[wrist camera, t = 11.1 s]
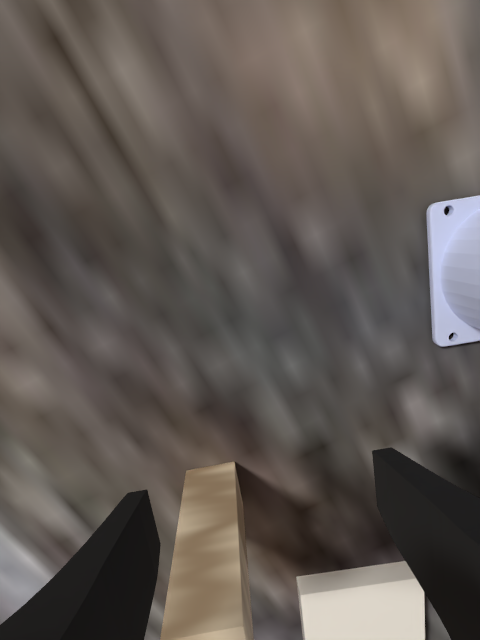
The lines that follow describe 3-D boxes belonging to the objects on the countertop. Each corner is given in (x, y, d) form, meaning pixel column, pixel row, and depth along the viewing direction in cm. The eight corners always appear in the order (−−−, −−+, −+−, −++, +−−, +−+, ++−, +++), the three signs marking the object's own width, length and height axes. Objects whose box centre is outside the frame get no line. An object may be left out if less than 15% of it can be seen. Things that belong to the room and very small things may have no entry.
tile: (423, 577, 24) (425, 671, 26) (410, 553, 26) (412, 644, 28) (300, 595, 24) (310, 688, 26) (294, 570, 26) (304, 659, 27)
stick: (234, 461, 23) (243, 625, 13) (242, 503, 24) (257, 688, 14) (186, 470, 23) (160, 641, 13) (196, 512, 24) (178, 703, 14)
